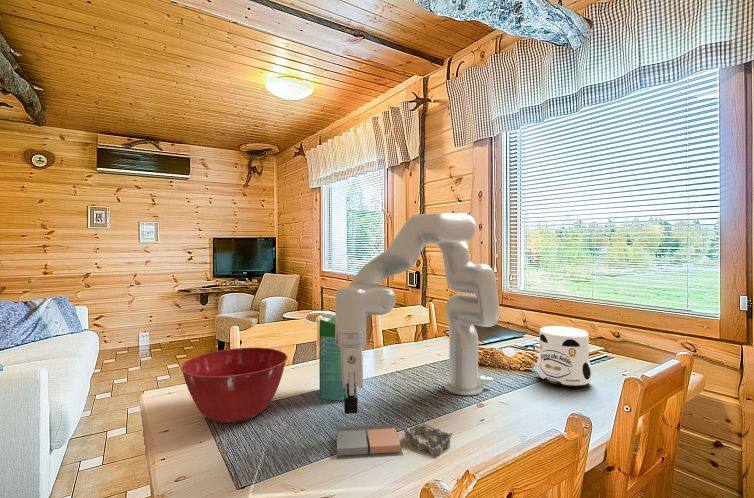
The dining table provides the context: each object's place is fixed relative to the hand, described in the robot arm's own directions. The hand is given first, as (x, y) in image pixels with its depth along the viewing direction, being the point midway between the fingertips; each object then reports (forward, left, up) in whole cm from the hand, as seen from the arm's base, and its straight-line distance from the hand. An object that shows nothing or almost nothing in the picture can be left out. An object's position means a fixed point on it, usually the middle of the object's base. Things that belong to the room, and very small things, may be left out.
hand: (350, 412), depth 94 cm
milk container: (-76, -32, -7) cm, 83 cm away
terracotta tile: (-8, 0, -6) cm, 9 cm away
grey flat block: (0, 0, -6) cm, 6 cm away
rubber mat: (-4, +1, -7) cm, 8 cm away
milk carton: (+3, -30, -7) cm, 31 cm away
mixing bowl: (+32, -20, -7) cm, 38 cm away
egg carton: (-18, +4, -8) cm, 20 cm away
